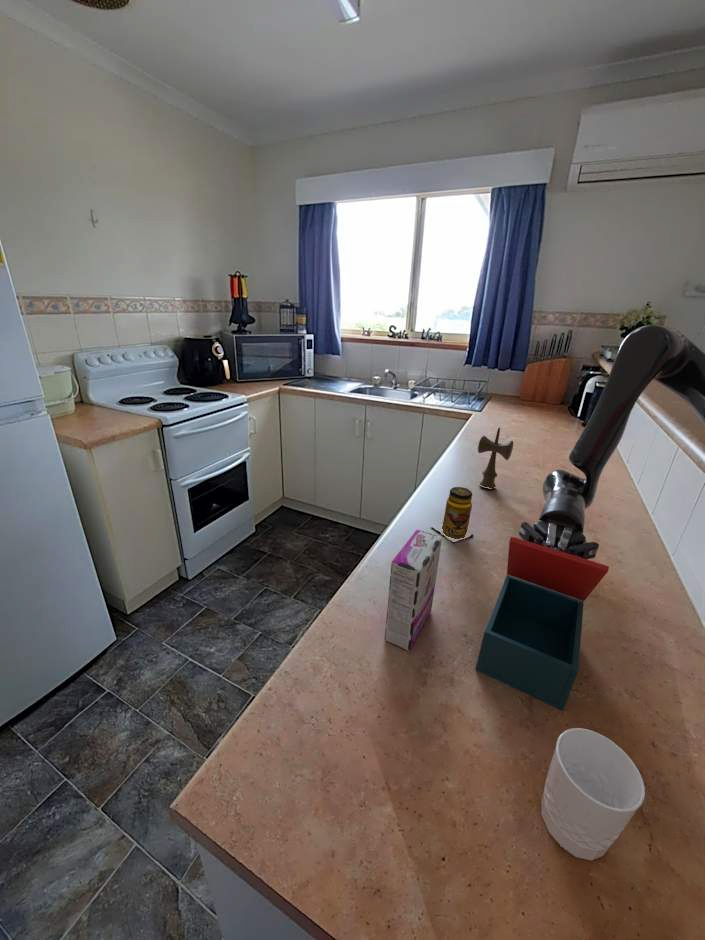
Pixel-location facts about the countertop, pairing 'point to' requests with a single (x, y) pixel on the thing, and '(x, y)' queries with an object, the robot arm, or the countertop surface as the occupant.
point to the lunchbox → (533, 641)
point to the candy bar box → (412, 588)
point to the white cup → (589, 793)
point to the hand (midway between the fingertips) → (551, 564)
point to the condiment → (457, 513)
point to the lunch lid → (553, 569)
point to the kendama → (493, 457)
